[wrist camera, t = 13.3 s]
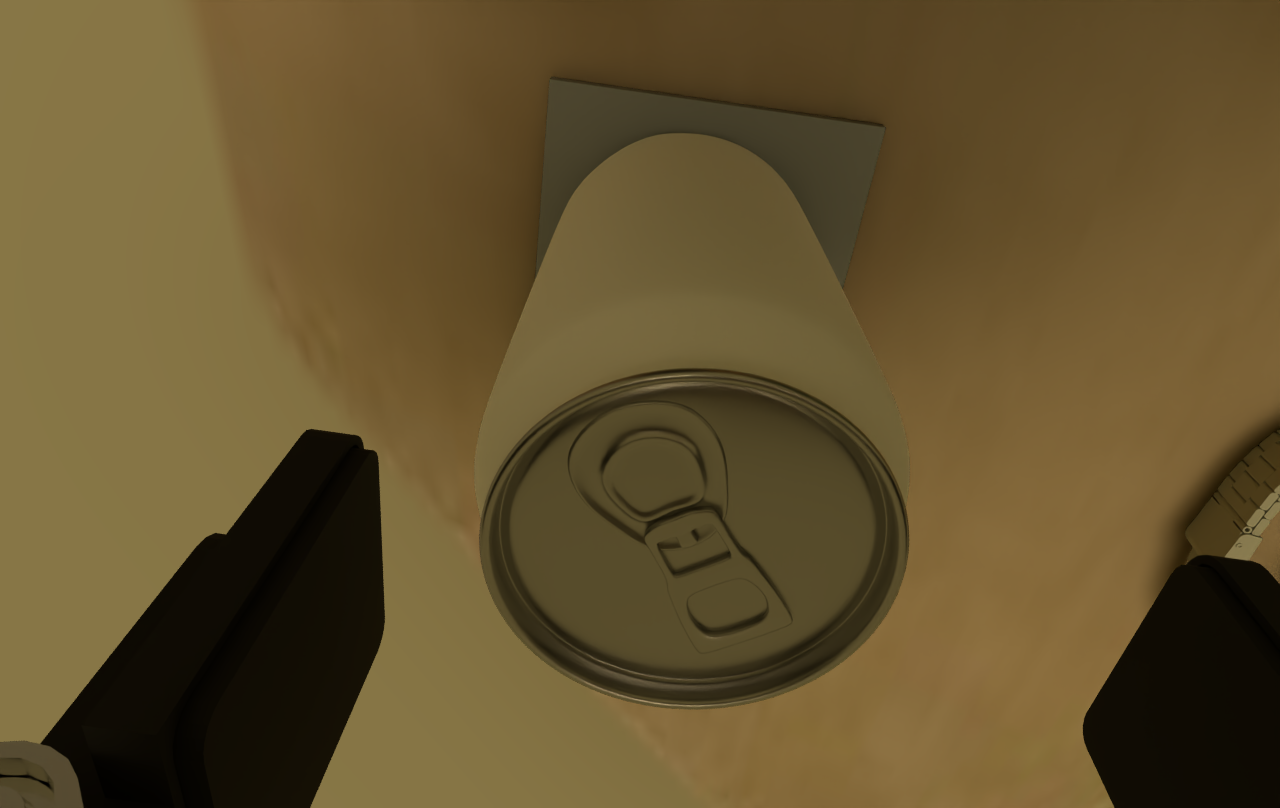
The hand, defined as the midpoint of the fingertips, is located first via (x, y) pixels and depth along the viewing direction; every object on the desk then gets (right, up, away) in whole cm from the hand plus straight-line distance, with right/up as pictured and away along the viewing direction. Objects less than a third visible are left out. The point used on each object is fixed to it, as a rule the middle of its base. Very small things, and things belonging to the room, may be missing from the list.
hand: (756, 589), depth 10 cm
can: (0, +6, +12) cm, 13 cm away
